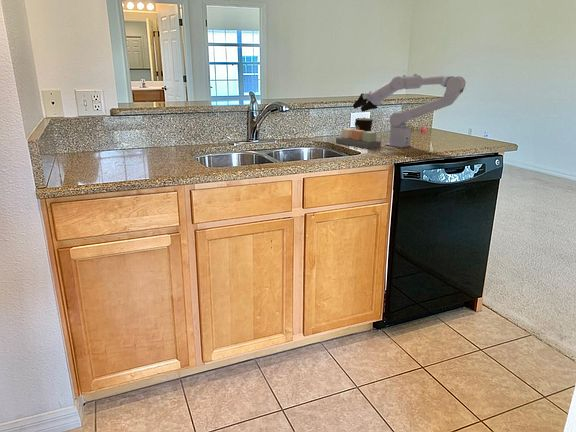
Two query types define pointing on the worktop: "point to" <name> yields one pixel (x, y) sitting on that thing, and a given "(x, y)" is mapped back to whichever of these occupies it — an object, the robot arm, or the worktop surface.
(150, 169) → the worktop surface
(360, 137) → the block terracotta
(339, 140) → the compartment tray
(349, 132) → the block cream
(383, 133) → the worktop surface
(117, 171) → the worktop surface
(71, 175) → the worktop surface
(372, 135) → the block sage
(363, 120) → the coffee mug
